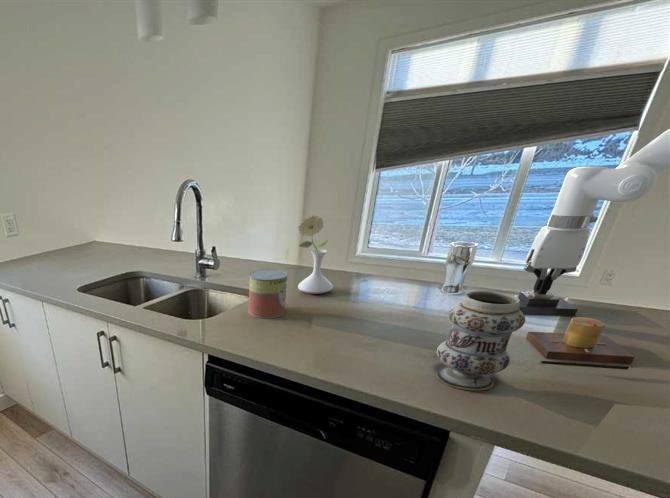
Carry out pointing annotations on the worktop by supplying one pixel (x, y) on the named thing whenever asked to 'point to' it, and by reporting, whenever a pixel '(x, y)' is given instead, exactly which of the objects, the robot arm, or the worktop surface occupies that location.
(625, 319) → the worktop surface
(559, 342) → the volume panel
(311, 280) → the flower in vase
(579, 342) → the dial
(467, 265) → the beer glass
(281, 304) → the canned food
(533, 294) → the key
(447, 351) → the apothecary jar
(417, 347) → the worktop surface
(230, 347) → the worktop surface
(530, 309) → the piano block
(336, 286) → the worktop surface
